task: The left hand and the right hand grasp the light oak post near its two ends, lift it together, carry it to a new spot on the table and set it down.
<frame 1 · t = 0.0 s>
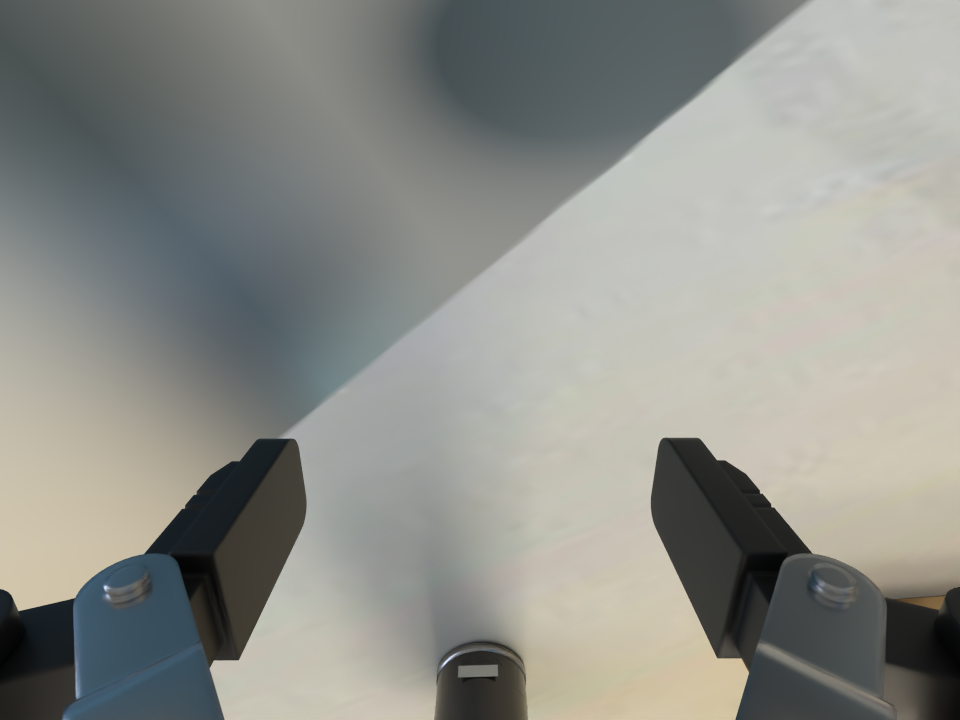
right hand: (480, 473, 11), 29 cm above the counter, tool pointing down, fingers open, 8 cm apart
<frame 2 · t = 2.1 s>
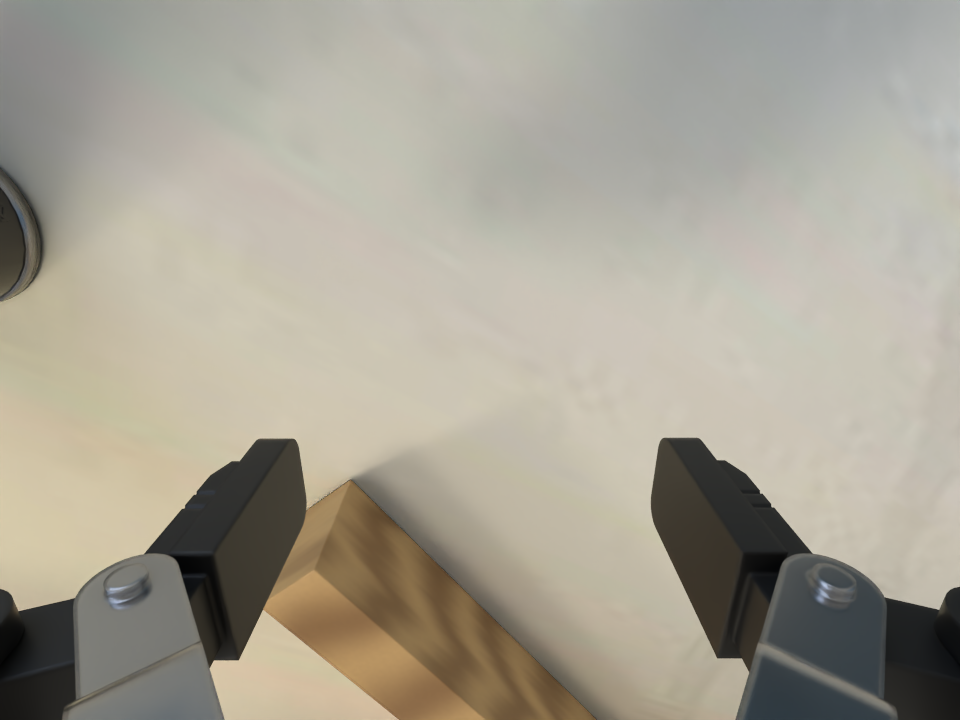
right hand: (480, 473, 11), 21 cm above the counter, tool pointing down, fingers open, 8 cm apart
post: (536, 692, 44), on the counter
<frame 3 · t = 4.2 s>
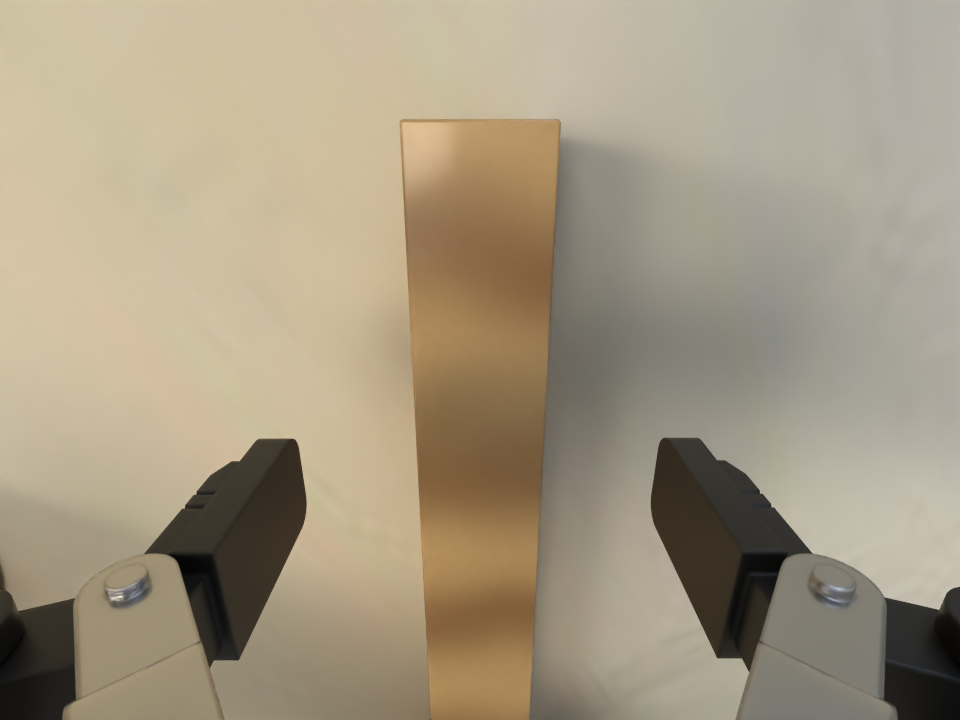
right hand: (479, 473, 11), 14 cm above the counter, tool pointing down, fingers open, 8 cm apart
post: (480, 591, 31), on the counter, touching left hand
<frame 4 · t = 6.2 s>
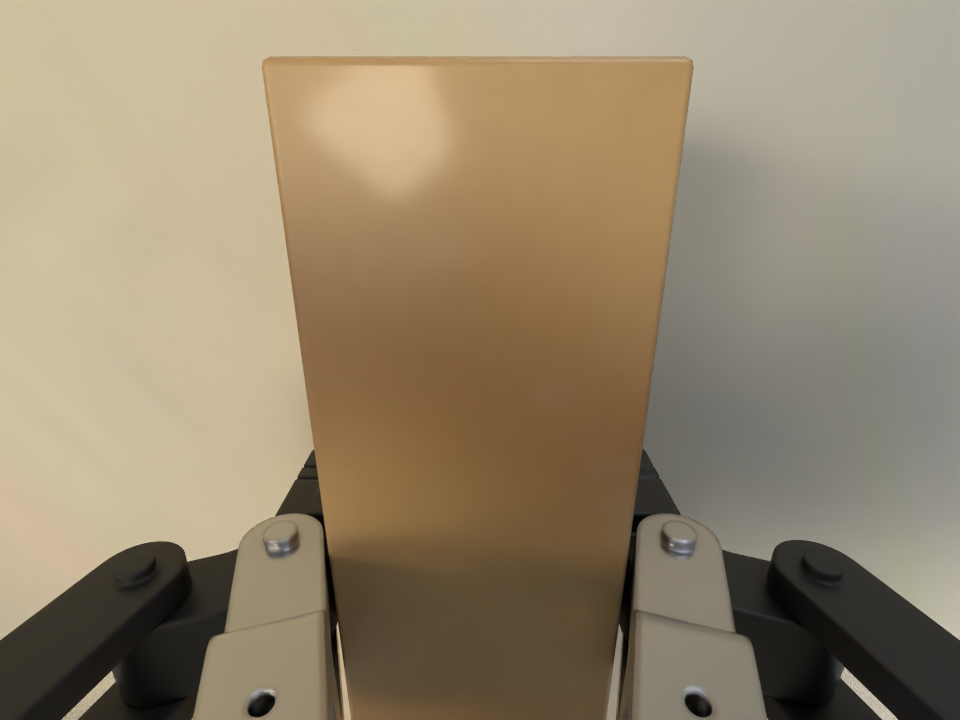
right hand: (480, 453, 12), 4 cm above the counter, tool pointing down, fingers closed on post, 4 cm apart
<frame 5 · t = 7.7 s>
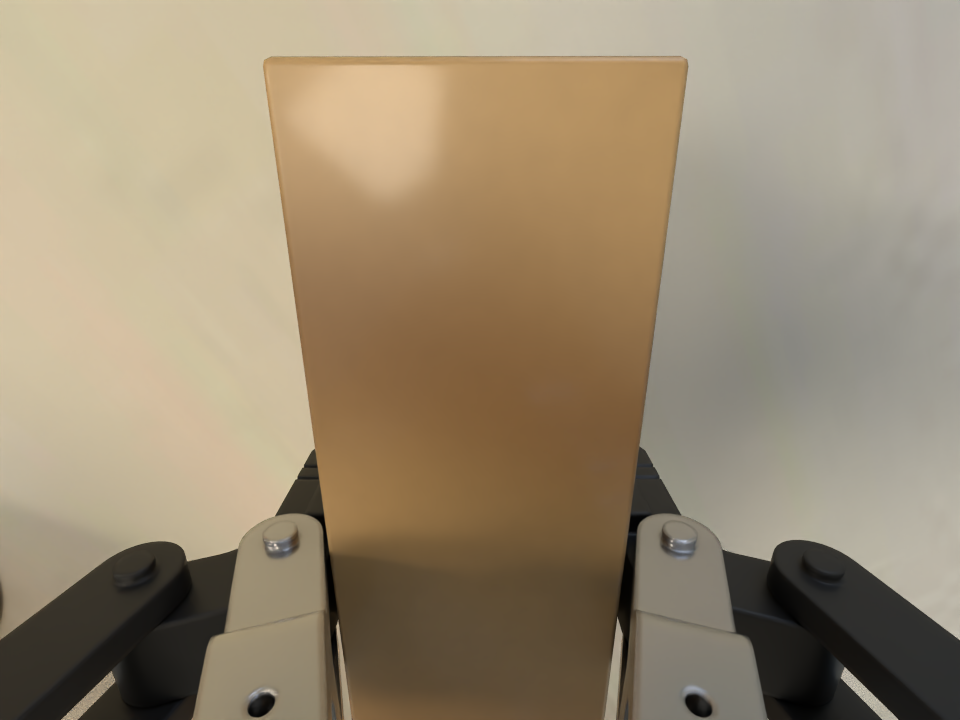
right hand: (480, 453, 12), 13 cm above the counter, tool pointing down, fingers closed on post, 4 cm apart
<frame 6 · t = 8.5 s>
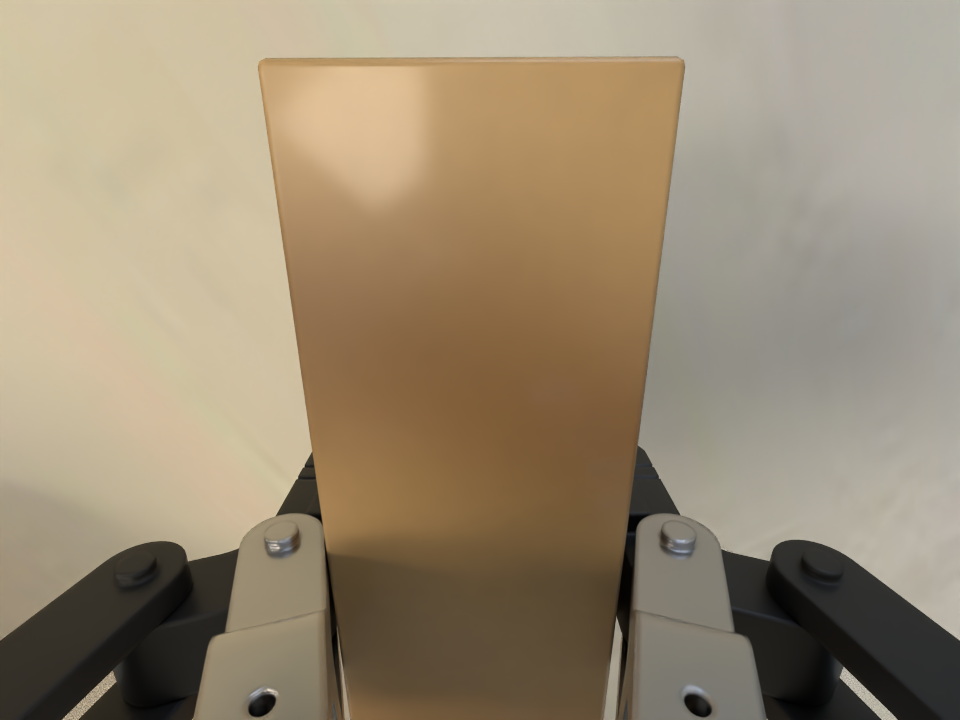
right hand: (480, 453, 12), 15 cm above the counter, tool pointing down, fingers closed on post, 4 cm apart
when the left hand's fingers open (4 cm above the counter, at t = 11.1 s): post stays where it is, on the counter.
when the right hand's fingers open (5 cm above the counter, at t = 11.1 s): post stays where it is, on the counter.
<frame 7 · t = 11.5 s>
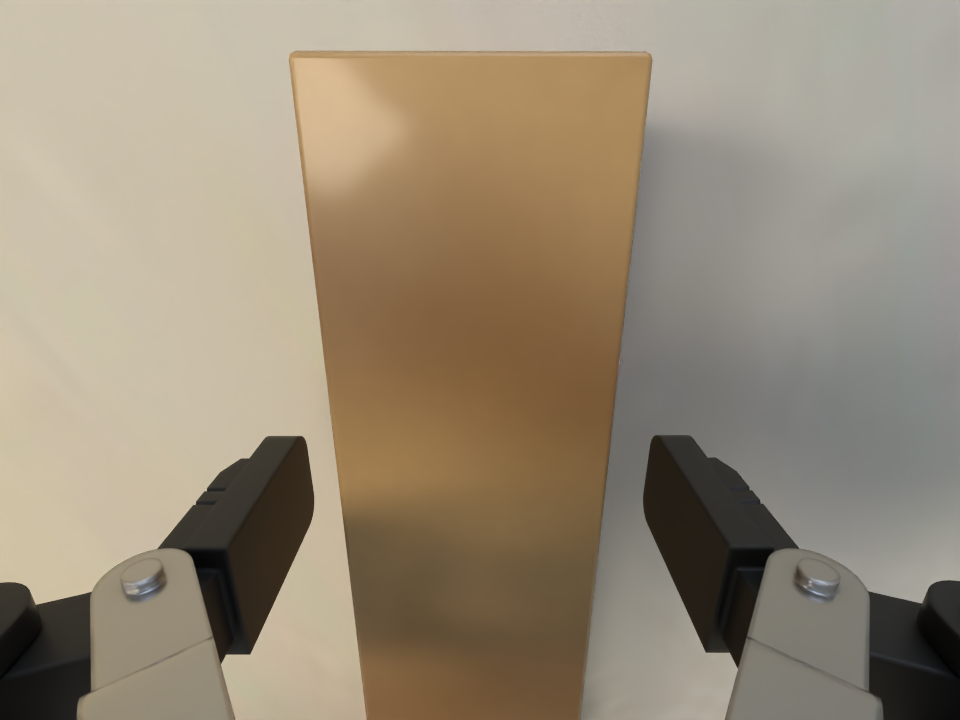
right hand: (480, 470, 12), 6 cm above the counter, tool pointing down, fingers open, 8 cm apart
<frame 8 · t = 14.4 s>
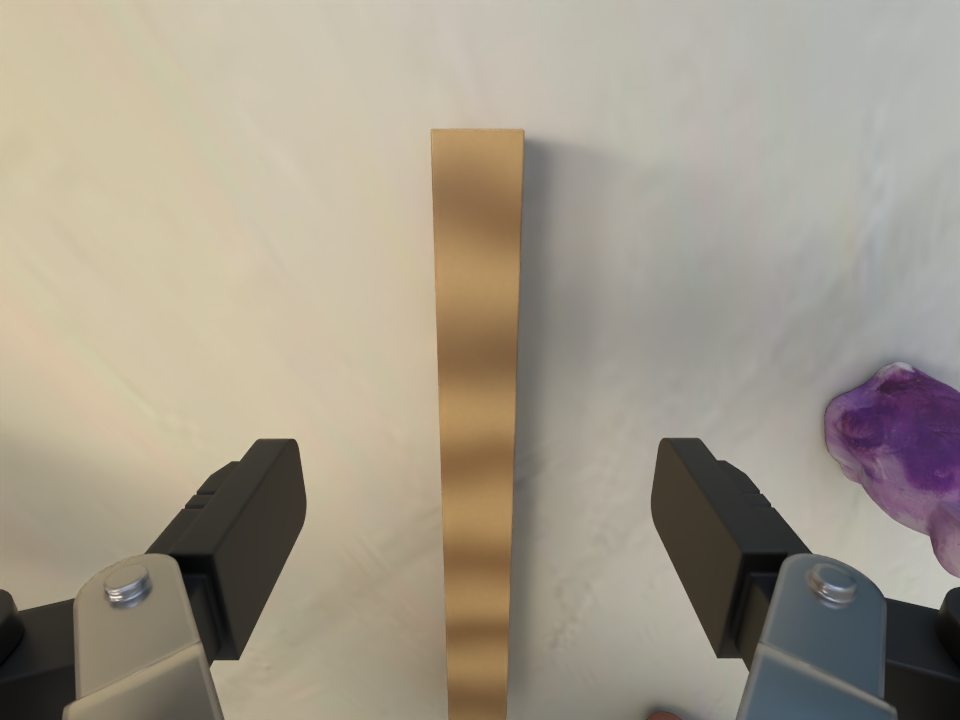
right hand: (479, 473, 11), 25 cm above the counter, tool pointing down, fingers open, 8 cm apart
figurine: (876, 426, 40), on the counter
post: (477, 481, 41), on the counter
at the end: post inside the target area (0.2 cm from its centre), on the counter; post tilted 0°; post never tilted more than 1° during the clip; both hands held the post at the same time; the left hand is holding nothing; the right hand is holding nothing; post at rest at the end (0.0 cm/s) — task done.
